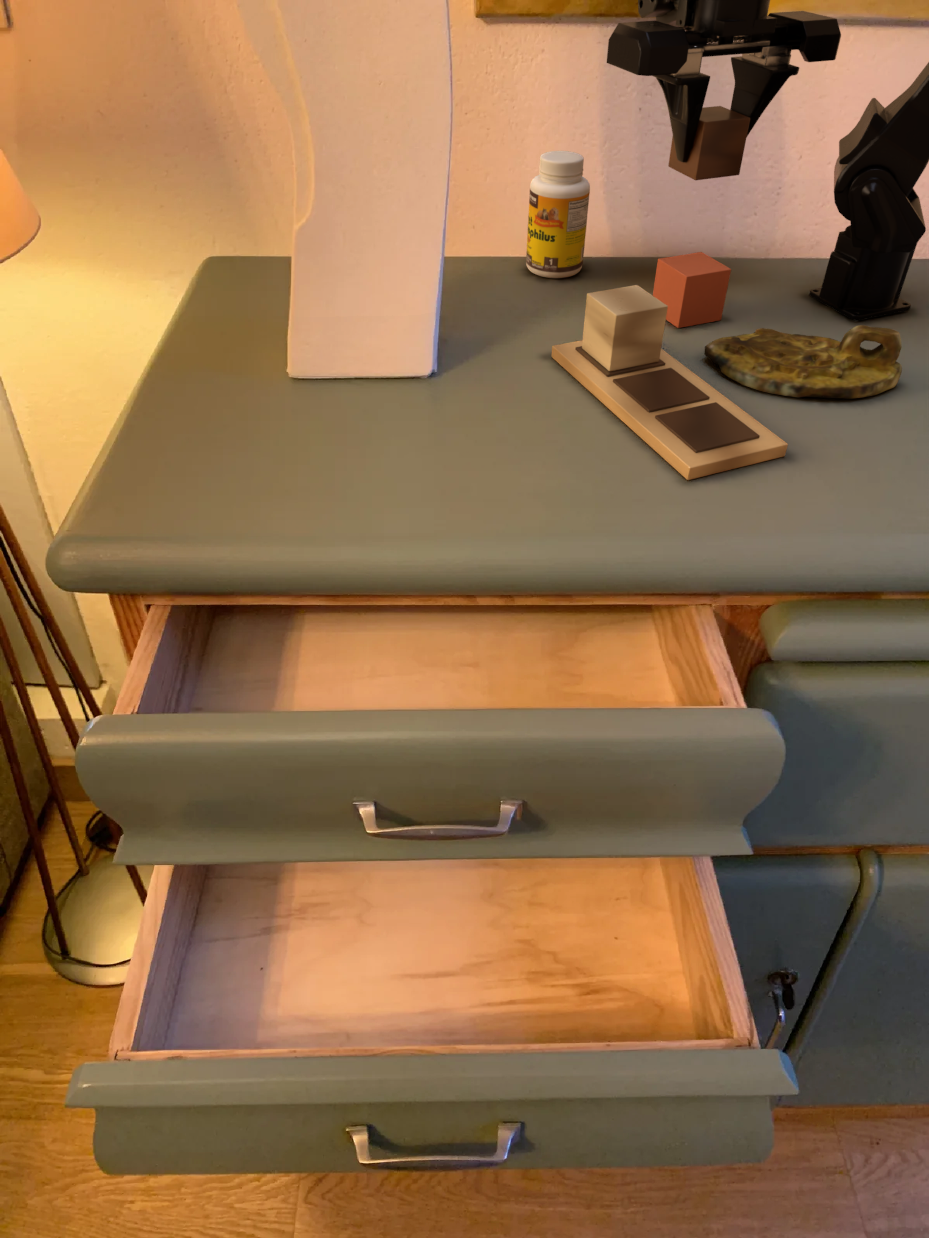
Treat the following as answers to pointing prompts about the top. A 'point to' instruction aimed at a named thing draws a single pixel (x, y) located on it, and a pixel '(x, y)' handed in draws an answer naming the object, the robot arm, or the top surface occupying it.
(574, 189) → the supplement bottle
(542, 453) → the top surface
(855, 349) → the olive brown carved pendant
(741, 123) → the dark brown cube
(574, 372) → the word board
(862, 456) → the top surface
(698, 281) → the orange-red cube
